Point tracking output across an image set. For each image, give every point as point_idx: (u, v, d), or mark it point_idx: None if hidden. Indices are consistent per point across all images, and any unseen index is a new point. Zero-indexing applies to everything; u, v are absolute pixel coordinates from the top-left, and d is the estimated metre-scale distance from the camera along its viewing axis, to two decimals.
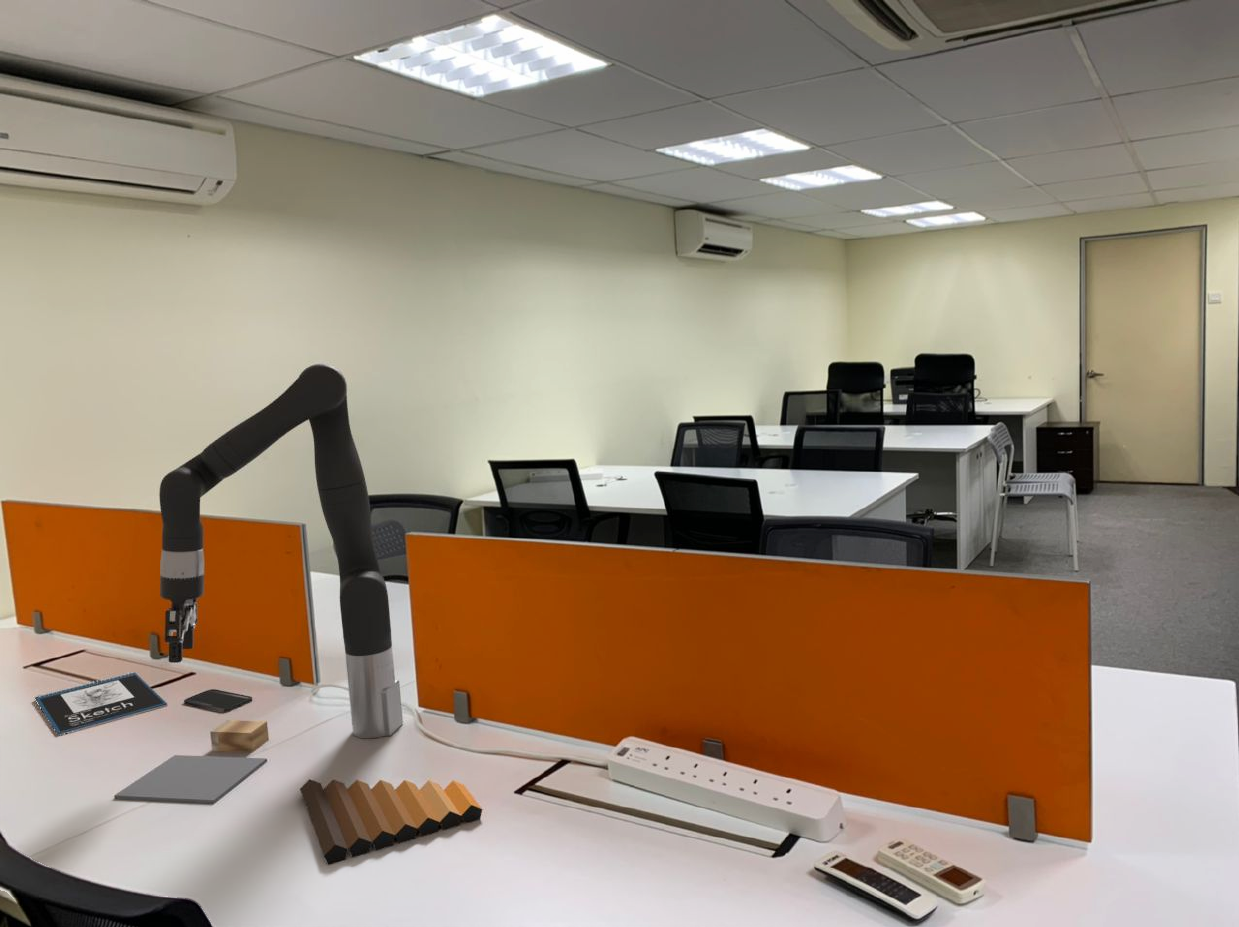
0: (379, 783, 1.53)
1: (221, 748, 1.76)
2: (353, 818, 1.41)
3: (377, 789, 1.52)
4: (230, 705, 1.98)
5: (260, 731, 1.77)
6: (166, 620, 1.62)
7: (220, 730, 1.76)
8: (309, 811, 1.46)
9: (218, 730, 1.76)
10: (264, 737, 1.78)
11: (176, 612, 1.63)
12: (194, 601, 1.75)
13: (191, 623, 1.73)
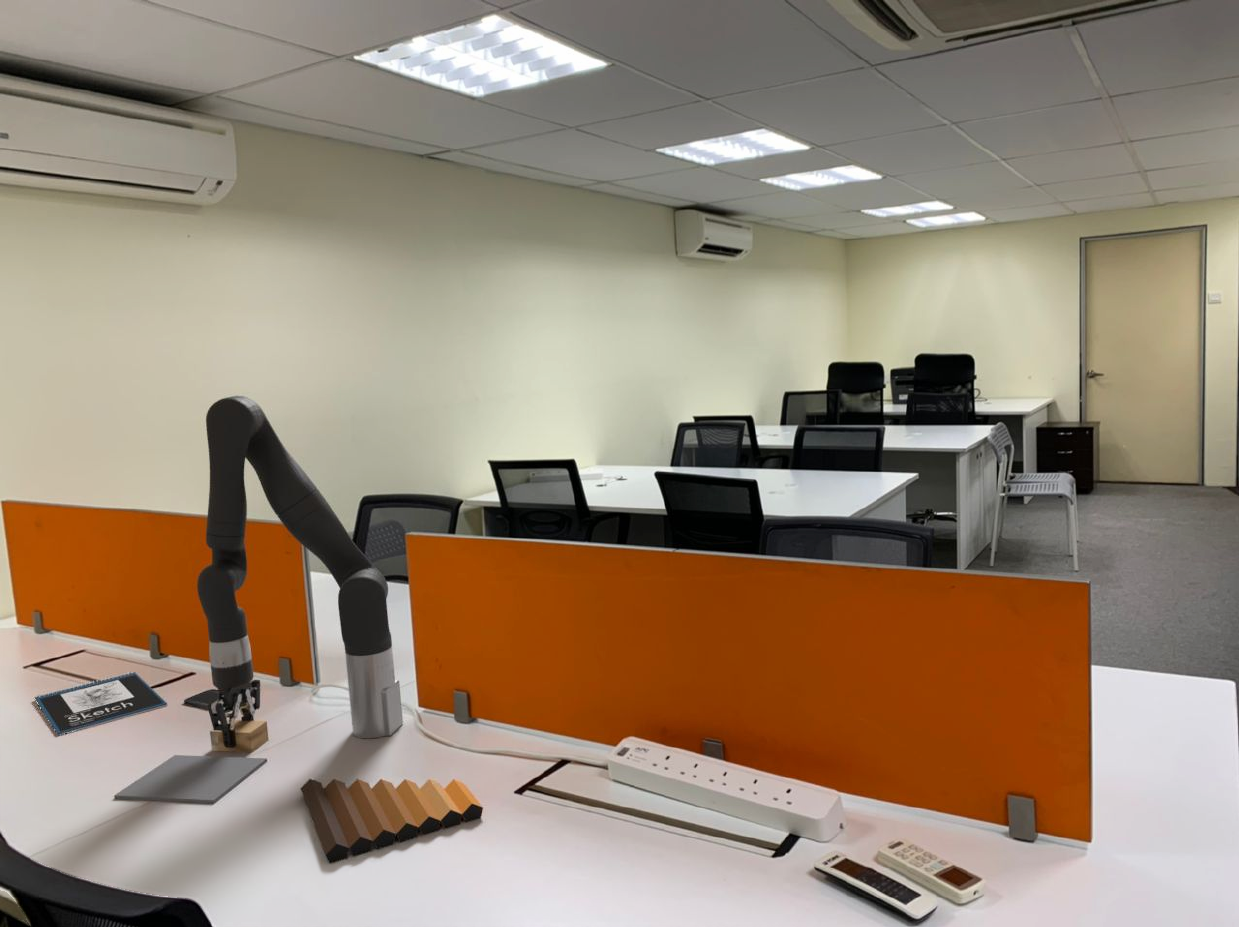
0: (380, 782, 1.53)
1: (221, 748, 1.76)
2: (354, 817, 1.42)
3: (378, 788, 1.52)
4: None
5: (259, 731, 1.77)
6: (210, 713, 1.71)
7: None
8: (310, 810, 1.46)
9: None
10: (264, 737, 1.78)
11: (216, 706, 1.70)
12: (255, 686, 1.82)
13: (248, 709, 1.79)
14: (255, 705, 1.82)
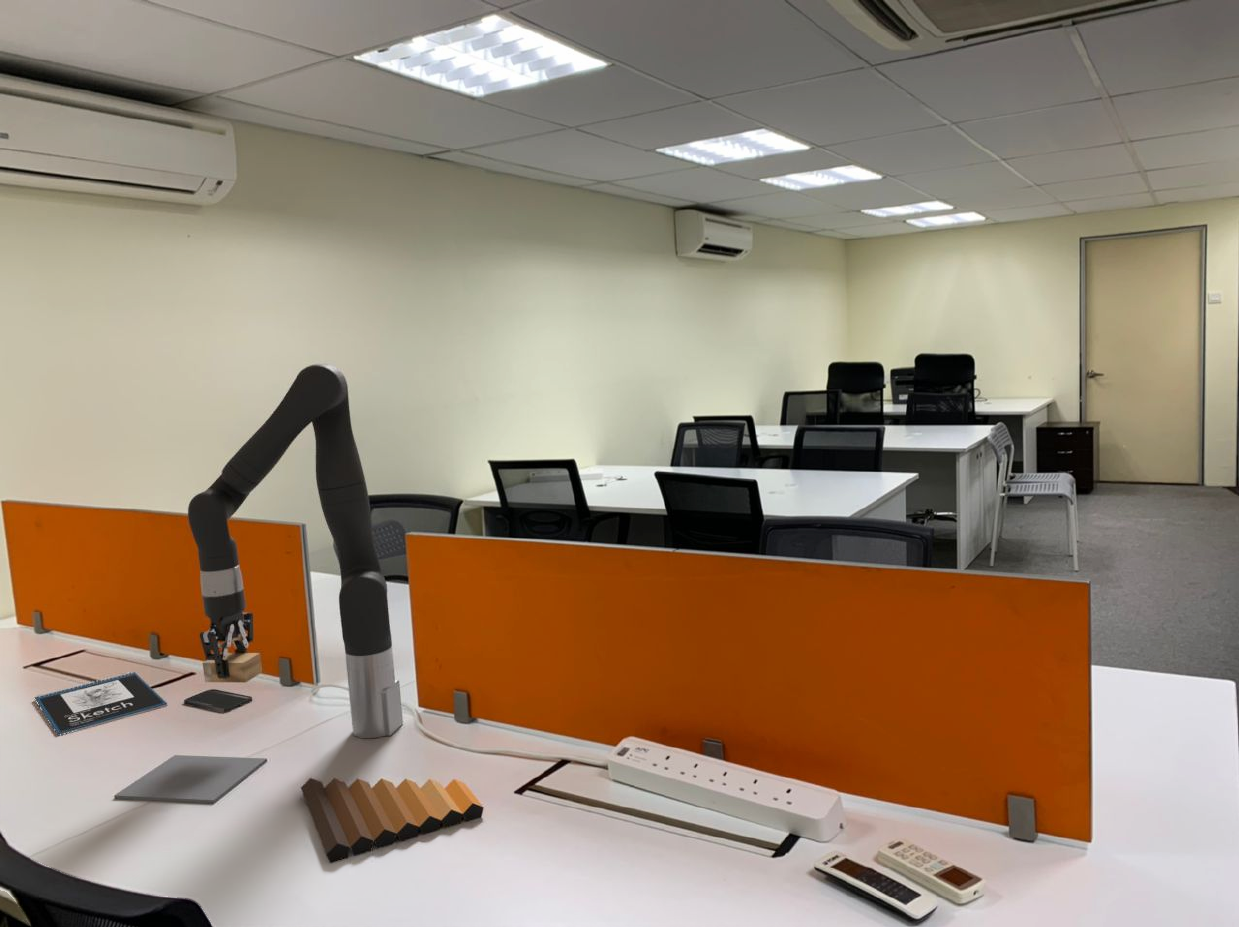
0: (380, 782, 1.53)
1: (214, 679, 1.74)
2: (355, 817, 1.42)
3: (378, 788, 1.52)
4: (230, 705, 1.98)
5: (252, 662, 1.75)
6: (202, 642, 1.69)
7: (212, 661, 1.74)
8: (310, 810, 1.47)
9: (210, 661, 1.75)
10: (257, 669, 1.77)
11: (208, 634, 1.69)
12: (248, 619, 1.80)
13: (241, 641, 1.78)
14: (248, 638, 1.80)
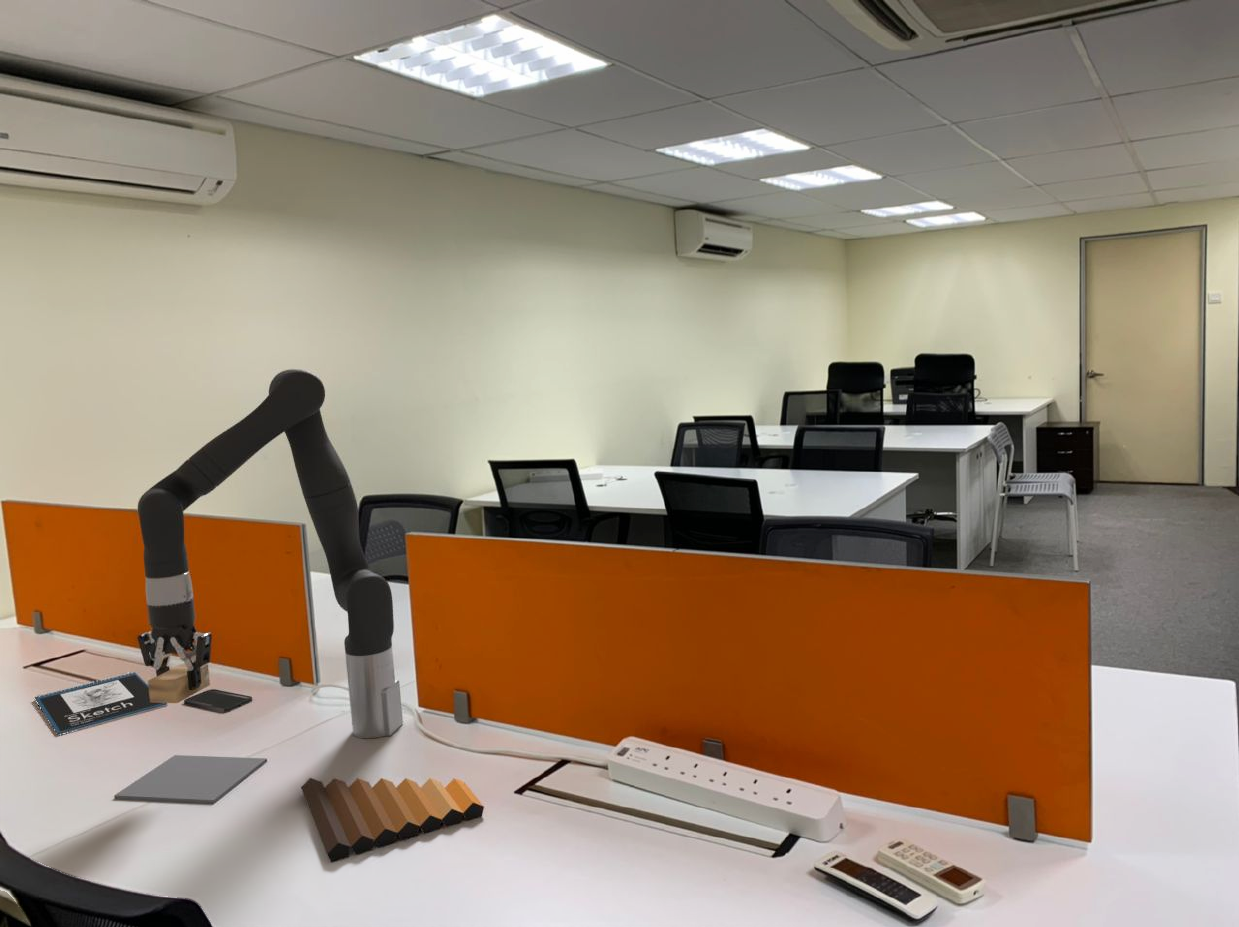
0: (380, 781, 1.53)
1: None
2: (355, 816, 1.42)
3: (378, 787, 1.52)
4: (230, 705, 1.98)
5: (162, 686, 1.57)
6: None
7: (177, 667, 1.65)
8: (311, 809, 1.47)
9: (179, 666, 1.65)
10: (169, 696, 1.57)
11: None
12: (197, 641, 1.59)
13: None
14: None
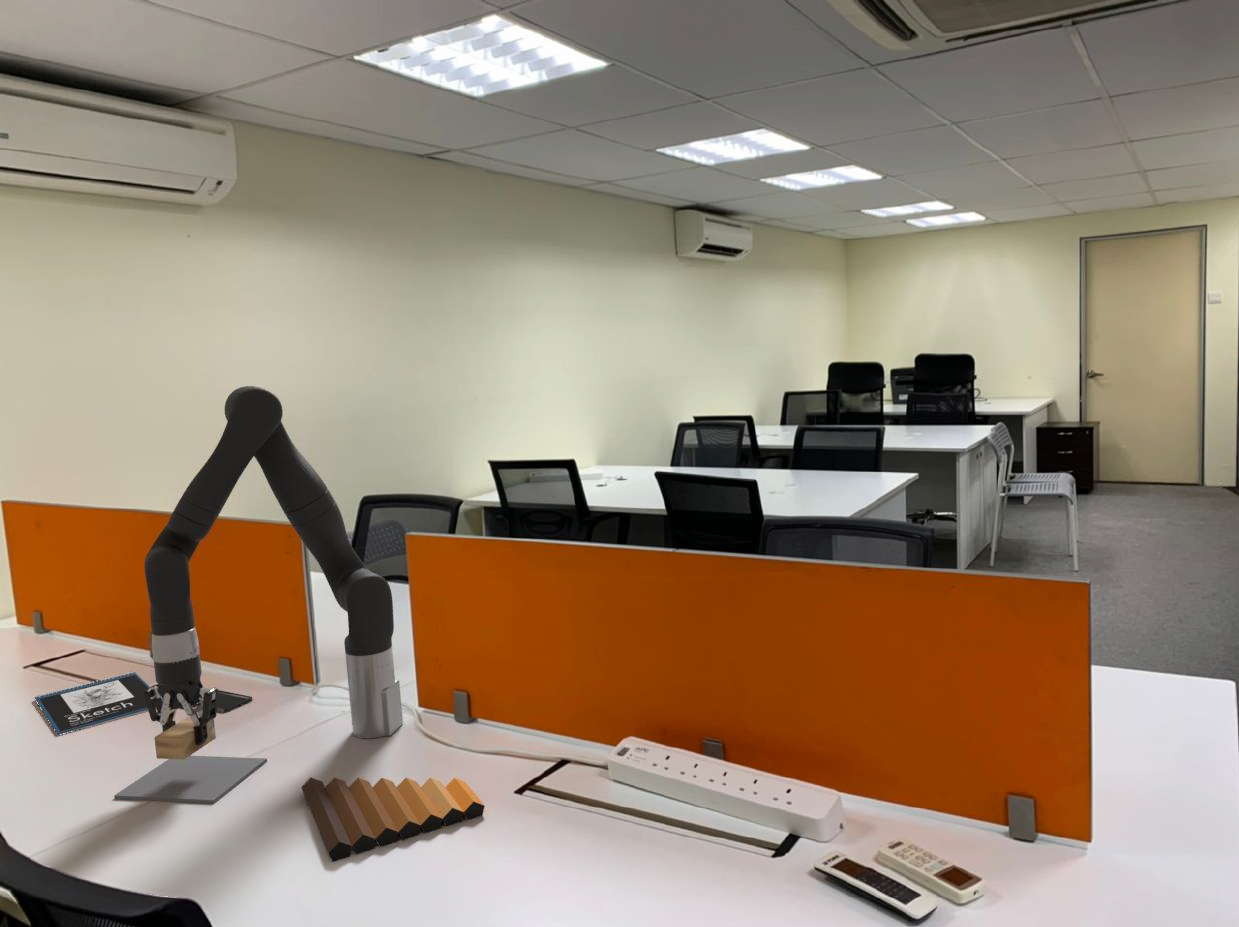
0: (381, 781, 1.54)
1: None
2: (356, 816, 1.42)
3: (379, 787, 1.52)
4: (230, 705, 1.98)
5: (169, 742, 1.58)
6: None
7: (183, 721, 1.65)
8: (311, 809, 1.47)
9: (185, 720, 1.66)
10: (176, 753, 1.58)
11: None
12: (203, 697, 1.59)
13: None
14: None
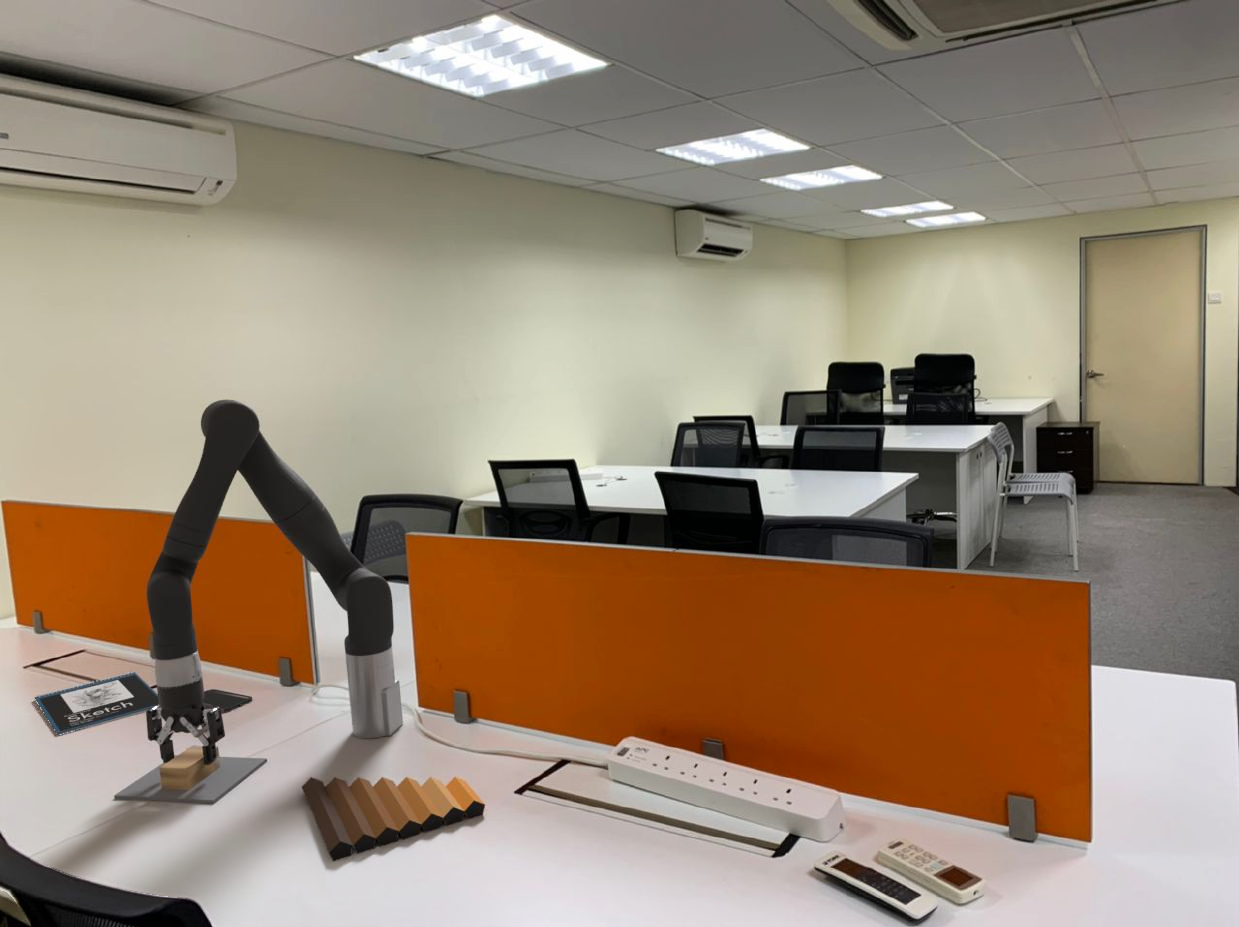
0: (381, 780, 1.54)
1: None
2: (357, 815, 1.42)
3: (379, 786, 1.53)
4: (230, 705, 1.98)
5: (174, 773, 1.59)
6: None
7: (187, 750, 1.66)
8: (312, 809, 1.47)
9: (190, 749, 1.66)
10: (181, 783, 1.59)
11: None
12: (207, 718, 1.60)
13: None
14: None
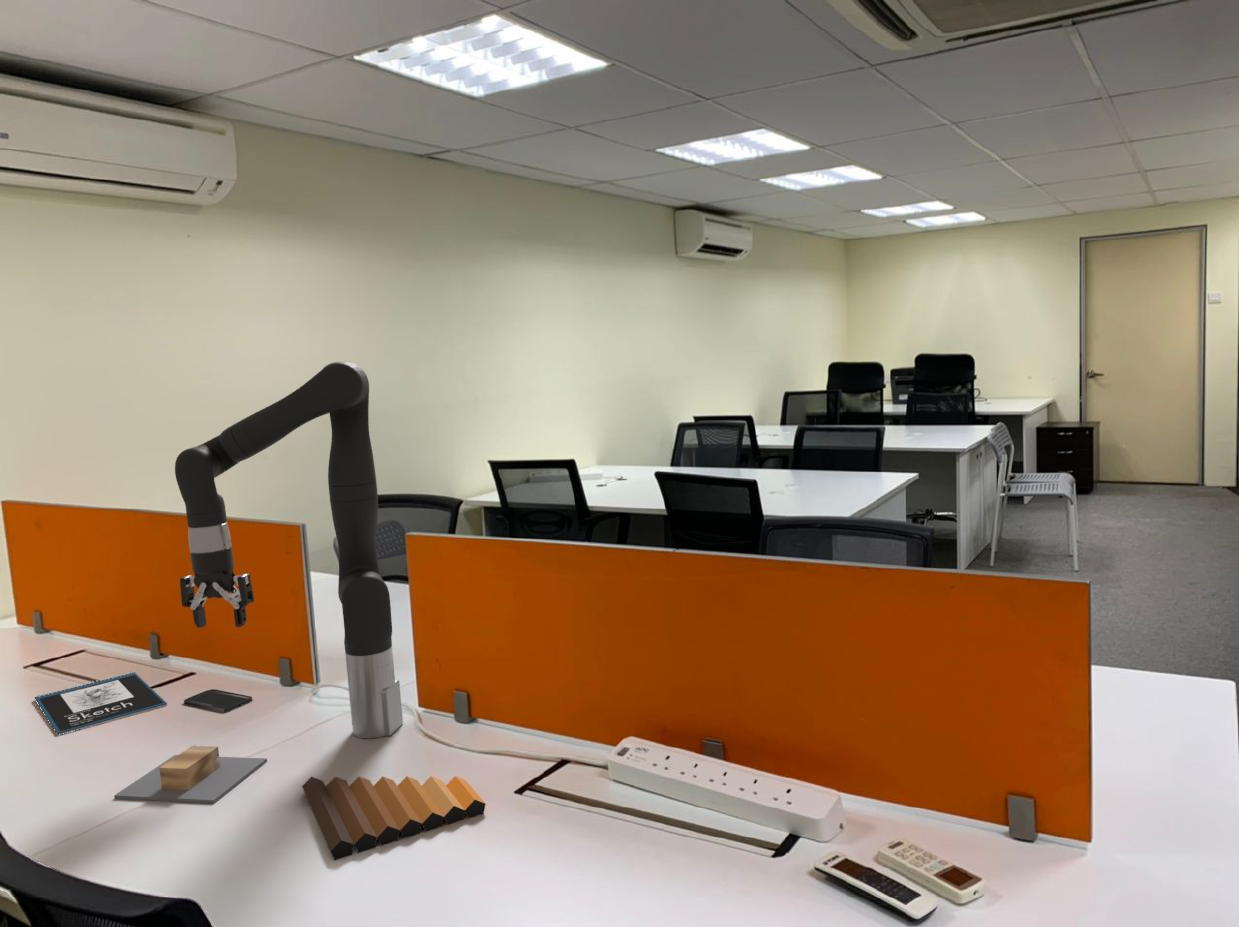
0: (381, 779, 1.54)
1: None
2: (358, 814, 1.43)
3: (379, 785, 1.53)
4: (230, 705, 1.98)
5: (174, 773, 1.59)
6: None
7: (187, 750, 1.66)
8: (313, 808, 1.47)
9: (190, 749, 1.66)
10: (181, 783, 1.59)
11: None
12: (238, 582, 1.73)
13: None
14: None
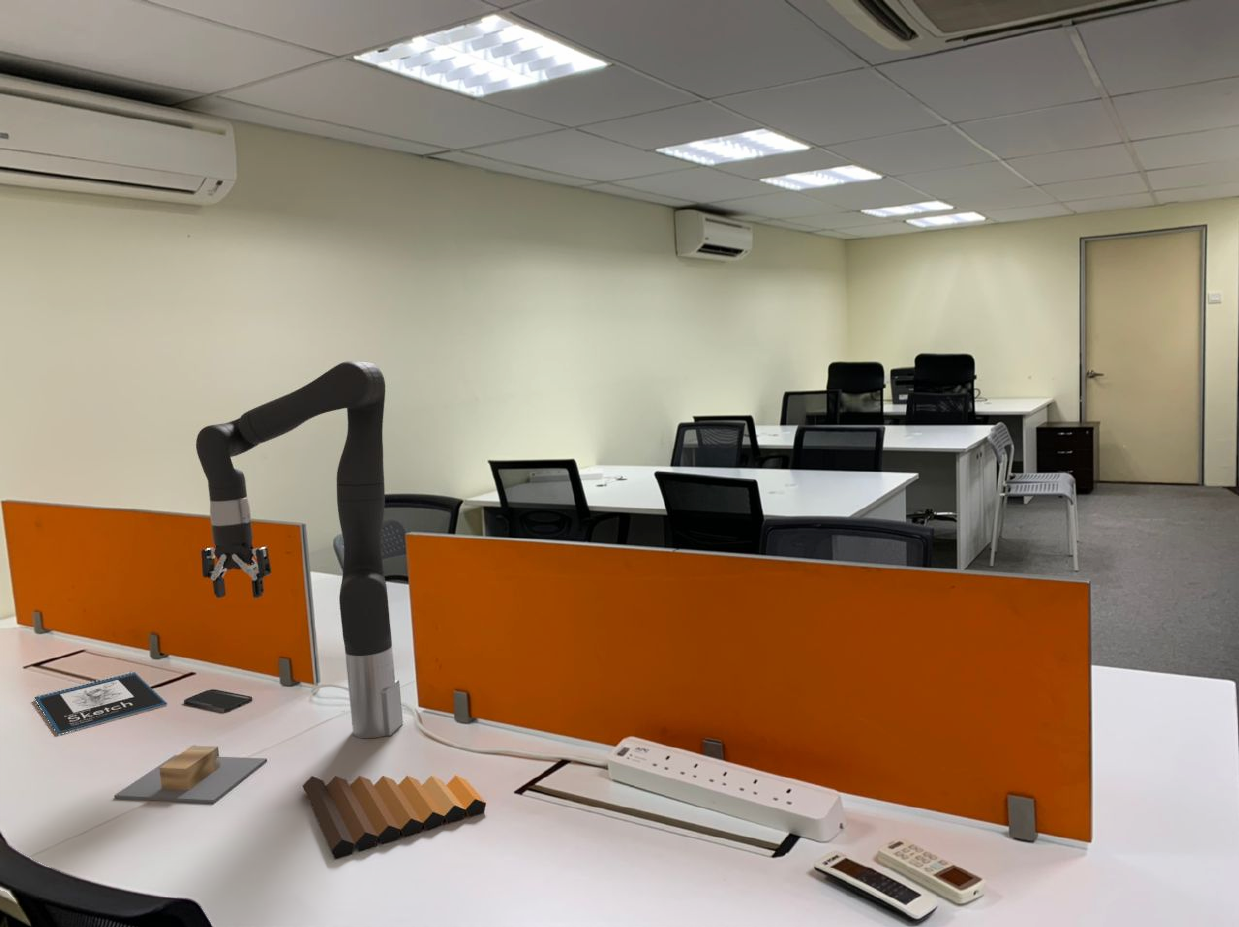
0: (382, 779, 1.54)
1: None
2: (358, 814, 1.43)
3: (380, 785, 1.53)
4: (230, 705, 1.98)
5: (174, 773, 1.59)
6: None
7: (187, 750, 1.66)
8: (313, 807, 1.47)
9: (190, 749, 1.66)
10: (181, 783, 1.59)
11: None
12: None
13: None
14: None
